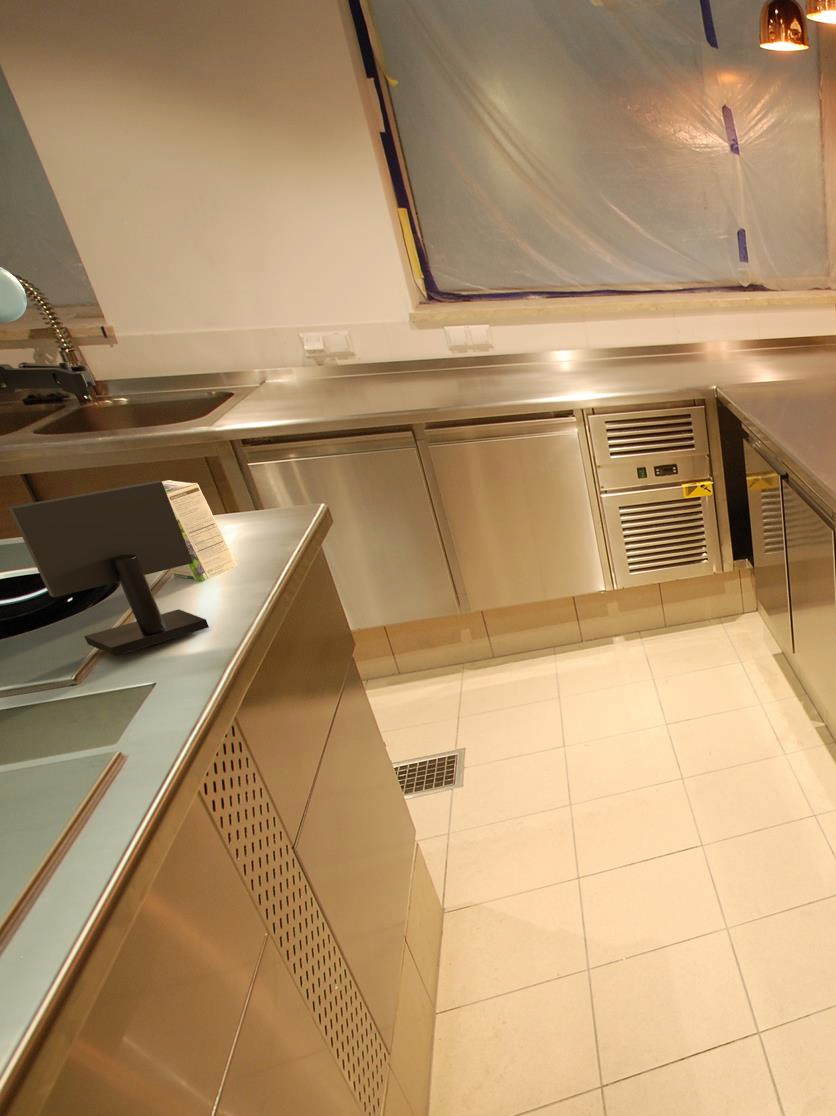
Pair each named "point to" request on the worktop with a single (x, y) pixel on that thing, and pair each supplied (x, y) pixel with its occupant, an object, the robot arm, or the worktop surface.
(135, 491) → the monitor screen
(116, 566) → the monitor stand
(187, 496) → the syrup box
